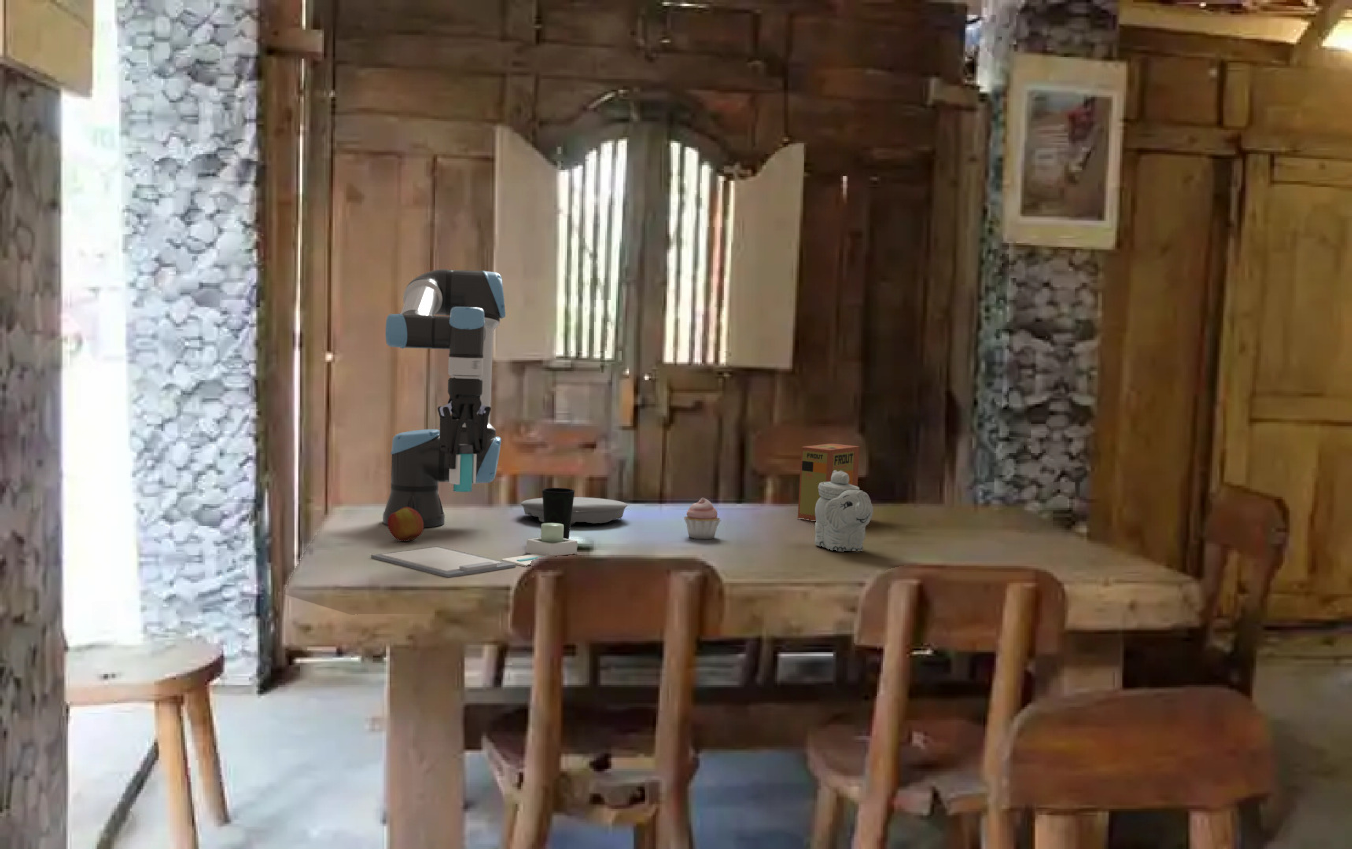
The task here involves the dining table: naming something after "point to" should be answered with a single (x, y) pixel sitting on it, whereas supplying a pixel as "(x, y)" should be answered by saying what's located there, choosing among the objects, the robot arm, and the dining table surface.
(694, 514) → the cupcake
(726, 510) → the dining table surface
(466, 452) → the teal bottle
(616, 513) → the flat disc
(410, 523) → the apple
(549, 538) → the button
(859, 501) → the white elephant jar
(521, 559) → the card
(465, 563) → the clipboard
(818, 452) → the box
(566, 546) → the button box
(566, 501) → the cup
